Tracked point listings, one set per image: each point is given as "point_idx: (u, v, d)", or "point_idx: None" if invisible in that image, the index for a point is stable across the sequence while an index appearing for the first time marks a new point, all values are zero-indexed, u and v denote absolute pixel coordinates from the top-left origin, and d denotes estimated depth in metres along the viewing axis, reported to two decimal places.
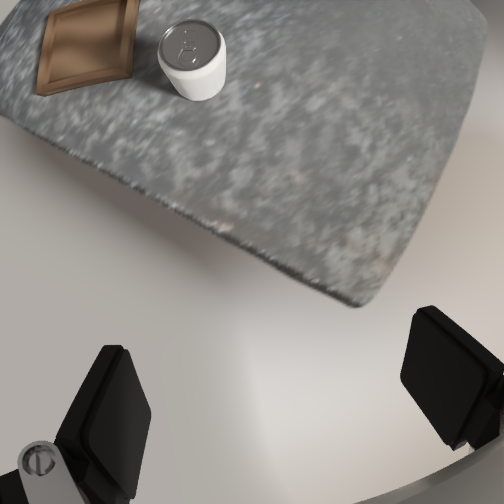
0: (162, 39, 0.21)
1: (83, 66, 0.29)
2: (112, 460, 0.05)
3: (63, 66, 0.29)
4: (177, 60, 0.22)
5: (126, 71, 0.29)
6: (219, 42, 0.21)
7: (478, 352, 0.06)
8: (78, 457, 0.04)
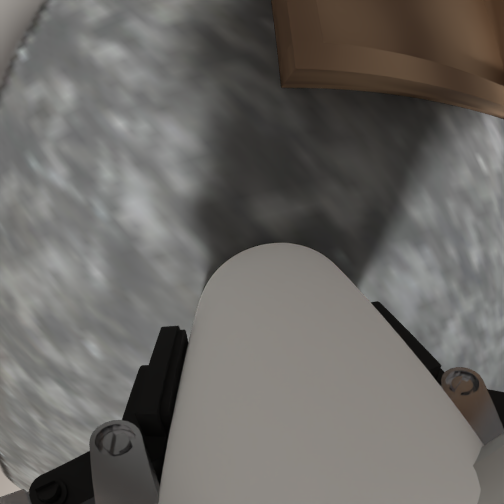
0: None
1: None
2: None
3: None
4: None
5: (300, 71, 0.08)
6: None
7: (412, 349, 0.06)
8: (154, 432, 0.05)
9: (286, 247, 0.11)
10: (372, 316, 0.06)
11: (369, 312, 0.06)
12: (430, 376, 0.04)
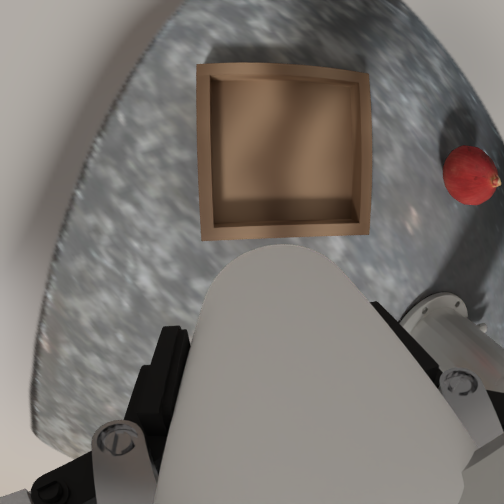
0: None
1: (235, 147, 0.23)
2: None
3: (245, 106, 0.22)
4: None
5: (204, 240, 0.24)
6: None
7: (410, 349, 0.06)
8: (156, 432, 0.05)
9: (292, 249, 0.11)
10: (372, 317, 0.06)
11: (369, 313, 0.07)
12: (426, 376, 0.05)
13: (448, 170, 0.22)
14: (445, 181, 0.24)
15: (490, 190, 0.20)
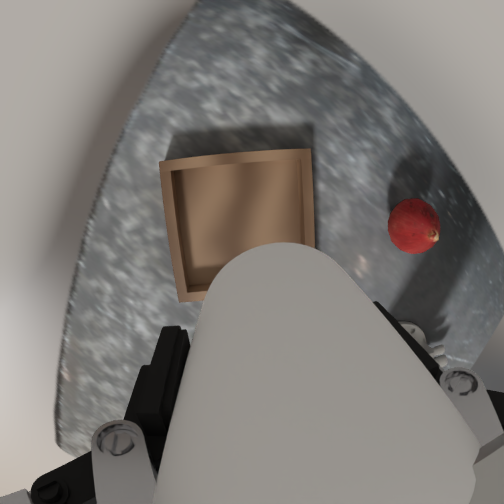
0: None
1: (199, 226, 0.30)
2: None
3: (204, 190, 0.29)
4: None
5: (181, 301, 0.30)
6: None
7: None
8: (156, 432, 0.05)
9: (293, 247, 0.11)
10: (374, 314, 0.06)
11: (371, 310, 0.07)
12: (428, 373, 0.05)
13: (390, 225, 0.28)
14: (389, 233, 0.30)
15: (429, 243, 0.26)
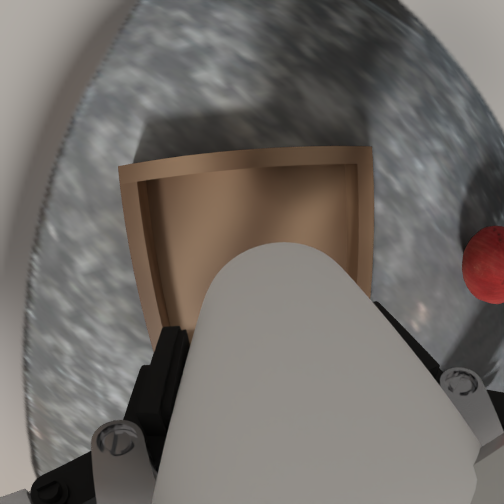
0: None
1: (189, 270, 0.18)
2: None
3: (196, 213, 0.18)
4: None
5: None
6: None
7: None
8: (155, 432, 0.05)
9: (293, 246, 0.11)
10: (374, 314, 0.06)
11: (371, 310, 0.07)
12: (428, 372, 0.05)
13: (470, 265, 0.17)
14: (464, 276, 0.18)
15: None
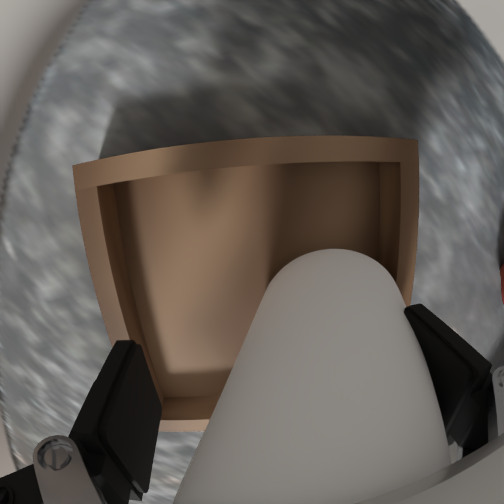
0: None
1: (174, 301, 0.14)
2: (127, 453, 0.05)
3: (181, 227, 0.13)
4: None
5: None
6: None
7: (464, 350, 0.06)
8: (94, 451, 0.05)
9: (361, 258, 0.11)
10: (412, 345, 0.07)
11: (411, 341, 0.07)
12: (437, 409, 0.05)
13: None
14: None
15: None
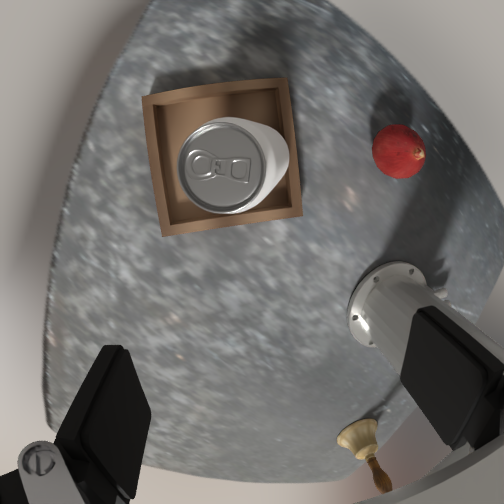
0: (237, 127, 0.16)
1: None
2: (112, 460, 0.05)
3: (186, 123, 0.27)
4: (197, 149, 0.17)
5: (164, 235, 0.29)
6: (217, 210, 0.18)
7: (478, 352, 0.06)
8: (78, 457, 0.04)
9: None
10: (266, 127, 0.22)
11: (266, 127, 0.22)
12: (268, 131, 0.20)
13: (374, 149, 0.27)
14: (374, 160, 0.29)
15: (416, 163, 0.25)
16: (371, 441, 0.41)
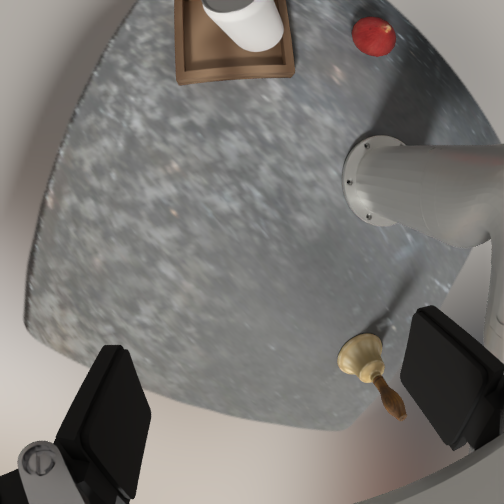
0: None
1: (199, 32, 0.30)
2: (112, 460, 0.05)
3: None
4: None
5: (178, 80, 0.30)
6: (226, 12, 0.20)
7: (478, 352, 0.06)
8: (78, 457, 0.04)
9: None
10: None
11: None
12: None
13: (353, 32, 0.29)
14: (354, 42, 0.30)
15: (386, 35, 0.26)
16: (376, 357, 0.41)
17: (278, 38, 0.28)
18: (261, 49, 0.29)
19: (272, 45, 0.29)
